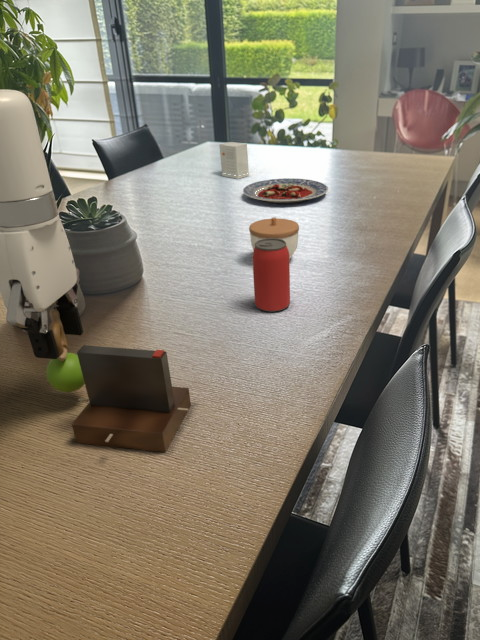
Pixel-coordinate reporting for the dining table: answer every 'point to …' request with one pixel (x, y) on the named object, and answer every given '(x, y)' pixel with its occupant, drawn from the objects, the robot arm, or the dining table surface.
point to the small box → (234, 159)
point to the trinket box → (275, 232)
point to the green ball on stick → (63, 360)
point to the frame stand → (131, 424)
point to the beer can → (271, 274)
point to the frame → (127, 378)
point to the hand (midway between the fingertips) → (60, 343)
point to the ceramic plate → (285, 190)
